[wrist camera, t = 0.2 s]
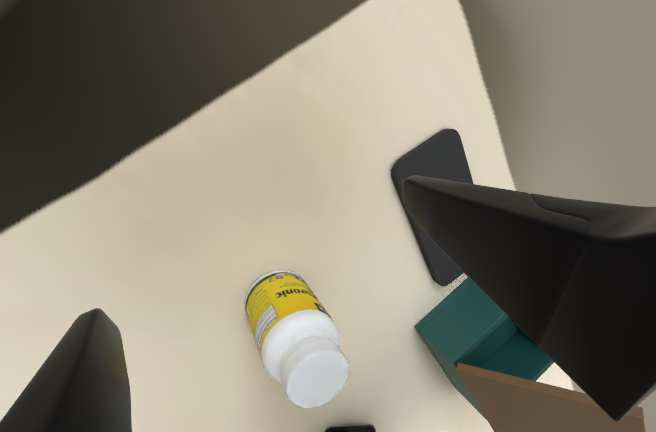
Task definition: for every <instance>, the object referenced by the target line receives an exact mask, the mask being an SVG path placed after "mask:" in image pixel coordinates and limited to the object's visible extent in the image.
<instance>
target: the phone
mask: <svg viewBox="0 0 656 432" xmlns="http://www.w3.org/2000/svg"><path fill="white" fill-rule="evenodd" d="M413 175H418V176H424V177H430V178H437V179H443V180H449V181H456V182H462V183H468V184H473V181H472V177H471V173H470V170H469V166H468V163H467V159H466V156H465V152H464V148H463V145H462V141H461V138H460V135H459V133H458V132H457V131H456V130H454V129H444V130H442V131H440V132H439V133H437V134H436V135H434V136H433V137H431V138H430V139H428V140H427V141H425V142H424V143H422V144H421V145H419V146H418V147H416V148H415V149H413V150H412V151H410V152H409V153H407V154H406V155H404V156H403V157H401V158H400V159H398V160H397V161H396V162H395V164H394V165H393V168H392V177H393V180H394V183H395V185H396V188H397V190H398V193H399V195H400V198H401V200H402V182H403V180H404V179H406V178H408V177H411V176H413ZM405 210H406V208H405ZM406 212H407V215H408V217H409V220H410V222H411V224H412V227H413V229H414V232H415V234H416V237H417V239H418V242H419V244H420V247H421V249H422V251H423V254H424V256H425V259H426V261H427V264H428V266H429V269H430V271H431V273H432V276H433V278H434V280H435V282H437V283H438V284H440V285H441V286H446V285H448V284H450V283H451V282H452V281H454V280H455V279H456V278H458V277H459V276H460V275H461V274H463V273H464V272H463V271H462V270H461V269H460V268H459V267H458V266H457V265H456V264H455V263H454V262H453V261H452V260H451V259H450V258H449V257H448V256H447V255H446V254H445V253H444V252H443V251H442V250H441V249H440V248H439V247H438V246H437V245H436V244H435V243H434V242H433V241H432V240H431V239H430V238H429V236H428V235H427V234H426V233H425V232H424V230H423V229H422V228H421V227H420V226H419V224H418V223H417V222H416V221H415V219H414V218H413V217H412V216H411V214H410V213H409V212H408V211H407V210H406Z"/></svg>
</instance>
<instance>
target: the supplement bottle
mask: <svg viewBox="0 0 656 432" xmlns="http://www.w3.org/2000/svg"><path fill="white" fill-rule="evenodd" d="M245 310H246V315H247V318H248V321H249V324H250V327H251V330H252V333H253V336H254V339H255V342H256V345H257V348H258V351H259V354H260V357H261V360H262V363H263V365H264V368H265V370H266V372H267V373H268V375H269V376H270V377H271V378H272V379H273V380H274V381H276V382H277V383H279V384H282V385H283V387H284V389H285V391H286V394H287V396H288V398H289V400H290V401H291V402H292V403H293V404H294V405H296V406H298V407H301V408H314V407H318V406H321V405H323V404H325V403H327V402H329V401H330V400H332V399H333V398H334V397H335V396H336V395H337V394H338V393H339V392H340V391H341V390H342V388H343V387H344V385H345V384H346V381H347V379H348V375H349V364H348V361H347V359H346V357H345V356H344V354H343V353H342V351H341V349H340V334H339V331H338V328H337V326H336V324H335V323H334V321H333V320H332V318H331V317H330V315H329V314H328V313H327V312H326V310H325V309H324V307H323V306H322V305H321V303H320V302H319V301H318V299H317V298H316V296H315V295H314V294H313V292H312V291H311V289H310V288H309V287H308V285H307V284H306V283H305V281H304V280H303V279H302V278H301V277H300V276H299V275H297V274H295V273H293V272H291V271H286V270H277V271H272V272H269V273H267V274H265V275H263V276H261V277H260V278H259V279H257V280H256V281H255V282H254V283H253V285H252V286H251V287H250V289H249V291H248V293H247V295H246V299H245Z"/></svg>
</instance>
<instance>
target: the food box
mask: <svg viewBox="0 0 656 432" xmlns="http://www.w3.org/2000/svg"><path fill="white" fill-rule="evenodd" d="M415 328H416V330H417V331H418V333H419V334H420V336H421V337H422V339H423V340H424V342H425V343H426V345H427V346H428V348H429V349H430V351H431V352H432V354H433V355H434V357H435V358H436V360H437V361H438V363H439V364H440V366H441V367H442V369H443V370H444V372H445V373H446V375H447V376H448V378H449V379H450V381H451V382H452V384H453V385H454V387H455V388H456V389H457V390H458V391H459V392H460V393H461V394H462V395H463V396H464V397H465V398H466V399H467V400H468V401H469V402H470V403H471V404H472V405H473V406H474V407H475V408H476V409H477V411H478V412H479V413H480V414H481V415H482V416H483V417H484V418H485V419H486V417H485V416H484V414H483V413H482V411H481V409H480V408H479V406H478V405H477V403H476V401H475V400H474V398H473V397H472V395H471V394H470V392H469V390H468V389H467V387H466V386H465V384H464V382H463V381H462V379H461V378H460V376H459V374H458V373H457V371H456V368H457V364H458V362H459V363H463V364H467V365H471V366H475V367H479V368H483V369H487V370H491V371H495V372H499V373H503V374H507V375H511V376H515V377H519V378H524V379H528V380H532V381H536V380H537V379H538V378H539V377H540V376H541V375H542V374H543V373H544V372H545V371H546V370H547V369H548V368H549V367H550V366H551V365H552V364H553V363H554V361H553V360H552V359H551V358H550V357H549V356H548V355H547V354H546V353H545V352H544V351H543V350H542V349H541V348H540V347H539V345H537V344H536V343H535V342H534V341H533V340H532V339H531V338H530V337H529V336H528V335H527V334H526V333H525V332H524V331H523V330H522V329H521V328H520V327H519V326H518V325H517V324H516V323H515V322H514V321H513V320H512V319H511V318H510V317H509V316H508V315H507V314H506V313H505V312H504V311H503V310H502V309H501V308H500V307H499V306H498V305H497V304H496V303H495V302H494V301H492V300H491V299H490V298H489V297H488V296H487V295H486V294H485V293H484V292H483V291H482V290H481V289H480V288H479V287H478V286H477V285H476V284H475V283H474V282H473V281H472V280H471V279H470V278H469V277H468V278H467V279H466V280H465V281H464V282H463V283H462V284H461V285H460V286H458V287H457V288H456V289H455V290H454V291H453V292H452V293H451V294H450V295H449V296H447V297H446V298H445V299H444V300H443V301H442V302H441V303H440V304H439V305H438V306H436V307H435V308H434V309H433V310H432V311H431V312H430V313H429V314H428V315H427V316H425V317H424V318H423V319H422V320H421V321H420V322H419V323H418V324H417V325H416V326H415ZM486 420H487V419H486Z"/></svg>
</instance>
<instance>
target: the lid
mask: <svg viewBox="0 0 656 432" xmlns="http://www.w3.org/2000/svg"><path fill="white" fill-rule="evenodd" d="M456 371H457V373H458V374H459V376H460V378H461V379H462V381H463V382H464V384H465V386H466V387H467V389H468V390H469V392H470V394H471V395H472V397H473V398H474V400H475V401H476V403H477V405H478V406H479V408H480V409H481V411H482V413H483V414H484V416H485V417H486V419H487V421H488V422H489V424H490V425H491V427H492V429H493V430H494V432H645V424H644V416H643V408H641V407H637V406H636V407H635V408H634V409H633V410H631V411H630V412H629V413H628V414H627V415H626V416H624V417H623V418H622V419H621V420H620V421H619V422H616V421H615V420H613V419H612V418H611V417H610V416H609V415H608V414H607V413H606V412H605V411H604V410H603V409H602V408H601V407H600V406H598V405H597V404H596V403H595V402H594V401H593V400H592V399H591V398H590V397H589V396H588V395H587V394H584V393H580V392H576V391H572V390H568V389H564V388H560V387H556V386H552V385H548V384H544V383H540V382H536V381H532V380H528V379H524V378H519V377H515V376H511V375H507V374H503V373H499V372H495V371H491V370H487V369H483V368H479V367H475V366H471V365H467V364H463V363H459V362H458V364H457V368H456Z"/></svg>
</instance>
